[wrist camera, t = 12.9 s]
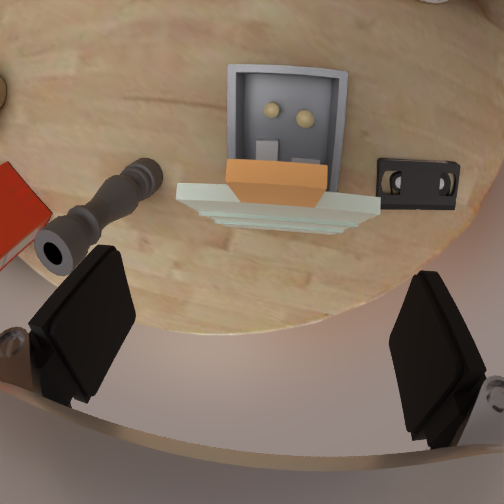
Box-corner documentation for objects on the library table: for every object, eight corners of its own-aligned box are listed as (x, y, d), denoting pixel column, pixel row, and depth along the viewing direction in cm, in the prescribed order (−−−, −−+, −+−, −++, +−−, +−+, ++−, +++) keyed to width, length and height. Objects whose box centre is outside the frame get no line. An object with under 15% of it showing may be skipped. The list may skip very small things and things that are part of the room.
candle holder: (147, 150, 46) (46, 216, 25) (170, 179, 48) (84, 263, 27) (123, 171, 49) (25, 244, 27) (144, 199, 51) (59, 286, 30)
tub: (338, 73, 37) (348, 71, 30) (327, 201, 47) (332, 224, 40) (238, 67, 38) (227, 64, 31) (237, 195, 49) (228, 216, 42)
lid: (413, 176, 14) (414, 204, 14) (333, 225, 40) (333, 237, 40) (143, 158, 16) (138, 185, 16) (226, 217, 42) (225, 228, 42)
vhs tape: (455, 161, 41) (460, 164, 39) (449, 205, 45) (454, 210, 43) (376, 157, 43) (379, 160, 41) (374, 204, 47) (377, 209, 45)
